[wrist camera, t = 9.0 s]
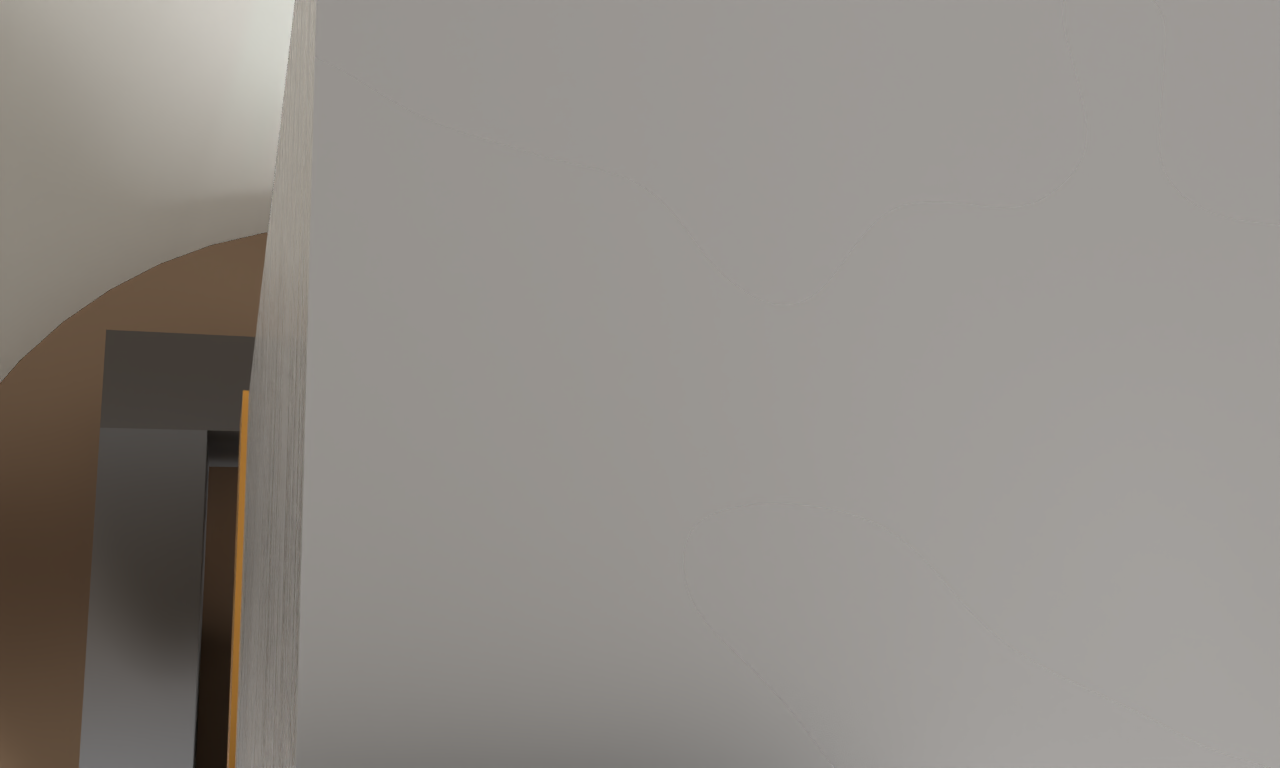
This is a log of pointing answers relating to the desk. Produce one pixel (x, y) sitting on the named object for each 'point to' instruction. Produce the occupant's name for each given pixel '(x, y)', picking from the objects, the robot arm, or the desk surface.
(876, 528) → the post
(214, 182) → the desk surface
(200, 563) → the stand base
